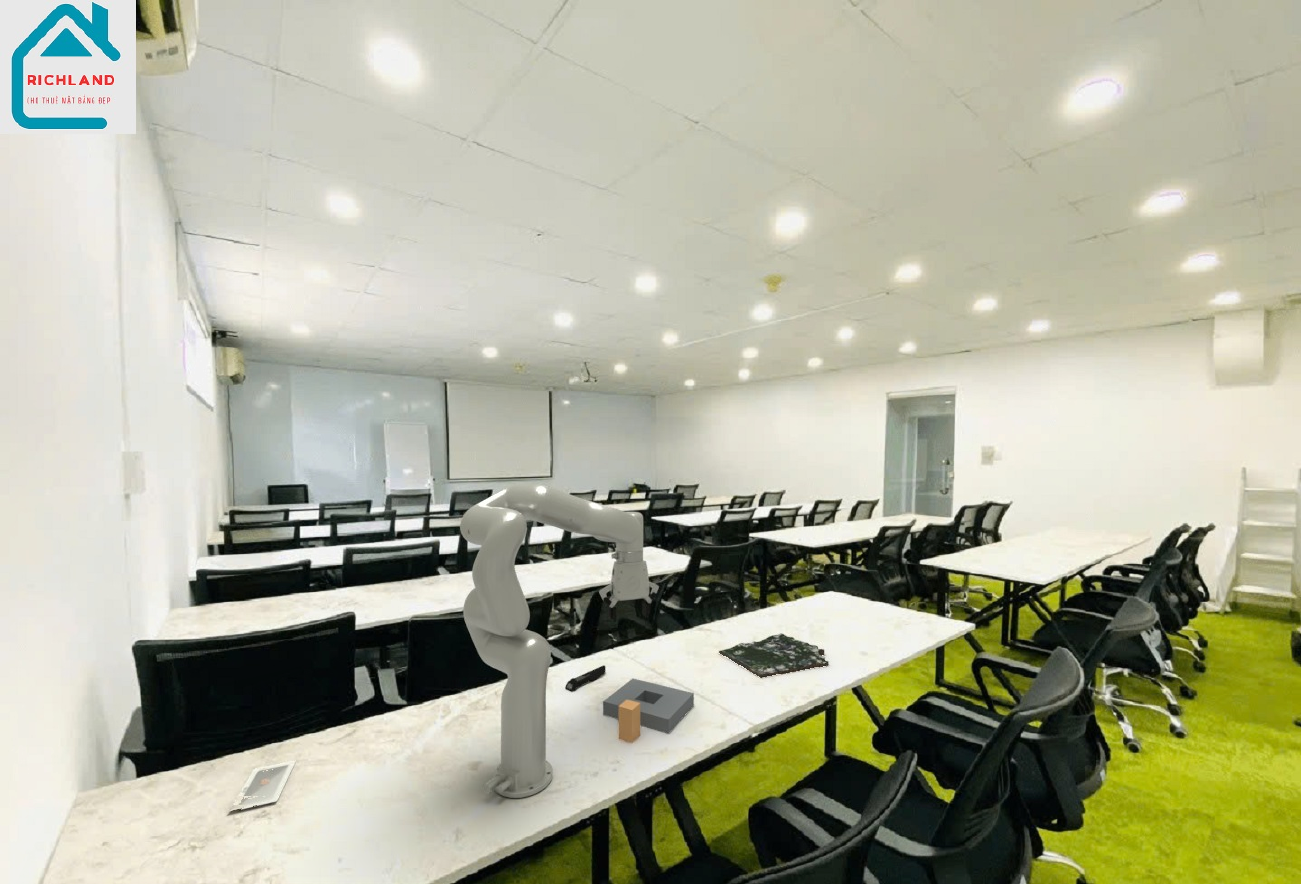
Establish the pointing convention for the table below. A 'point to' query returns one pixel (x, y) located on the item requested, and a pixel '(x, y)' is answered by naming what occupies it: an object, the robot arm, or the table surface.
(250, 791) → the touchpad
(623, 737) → the peg
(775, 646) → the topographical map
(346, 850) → the table surface
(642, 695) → the socket board
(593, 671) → the electric trimmer
